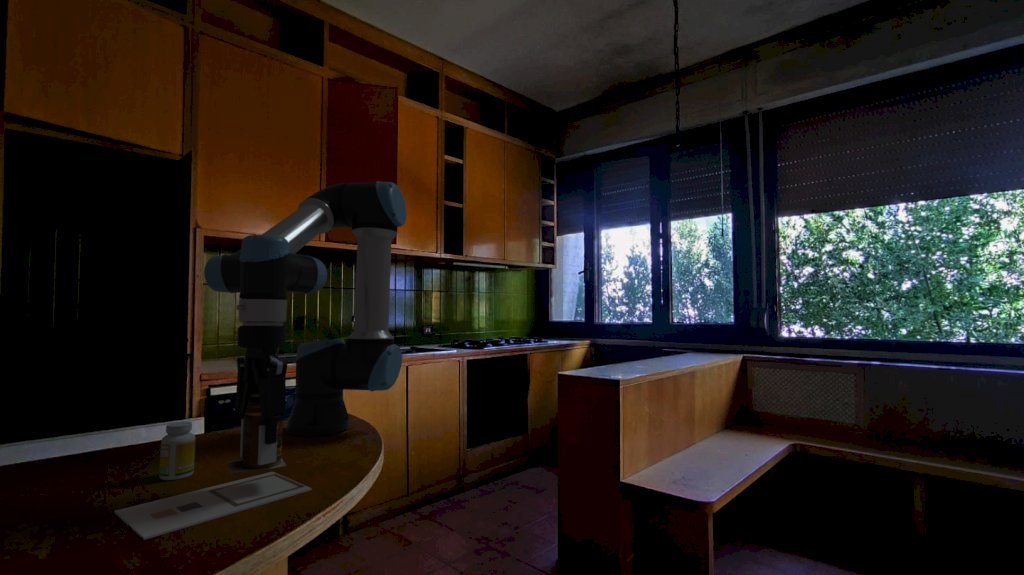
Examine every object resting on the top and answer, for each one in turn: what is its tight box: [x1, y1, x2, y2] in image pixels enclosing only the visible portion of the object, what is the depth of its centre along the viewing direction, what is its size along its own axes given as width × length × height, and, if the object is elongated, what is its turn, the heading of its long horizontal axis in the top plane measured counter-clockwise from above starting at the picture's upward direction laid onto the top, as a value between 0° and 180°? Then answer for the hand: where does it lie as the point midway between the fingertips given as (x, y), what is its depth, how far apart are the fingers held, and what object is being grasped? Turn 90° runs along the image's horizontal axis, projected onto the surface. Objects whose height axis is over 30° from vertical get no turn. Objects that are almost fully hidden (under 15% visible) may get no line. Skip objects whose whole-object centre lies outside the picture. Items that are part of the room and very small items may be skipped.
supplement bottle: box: [158, 421, 196, 481], centre depth 92 cm, size 5×5×10 cm
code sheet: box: [114, 471, 313, 541], centre depth 80 cm, size 24×14×1 cm, turn 142°
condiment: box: [226, 393, 287, 475], centre depth 85 cm, size 7×8×12 cm
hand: (257, 458), depth 85 cm, fingers closed on condiment, 6 cm apart
